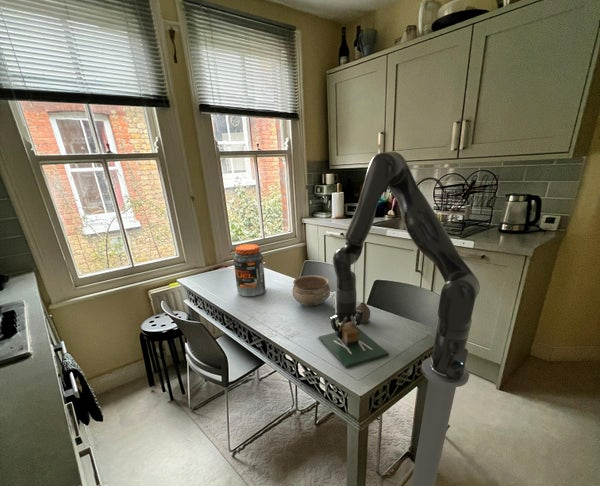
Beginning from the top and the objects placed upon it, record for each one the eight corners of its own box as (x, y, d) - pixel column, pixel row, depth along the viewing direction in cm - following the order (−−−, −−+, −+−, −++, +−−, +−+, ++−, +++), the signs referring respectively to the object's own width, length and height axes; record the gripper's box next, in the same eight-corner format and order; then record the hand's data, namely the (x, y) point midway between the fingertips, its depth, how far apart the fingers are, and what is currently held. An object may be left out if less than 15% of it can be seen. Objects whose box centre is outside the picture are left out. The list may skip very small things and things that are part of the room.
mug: (352, 316, 147) (353, 292, 142) (342, 320, 143) (343, 296, 138) (336, 309, 154) (336, 286, 149) (326, 313, 150) (326, 290, 145)
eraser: (358, 343, 123) (358, 331, 121) (347, 346, 122) (347, 334, 119) (345, 330, 132) (345, 318, 130) (334, 333, 131) (334, 321, 129)
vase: (353, 323, 140) (353, 305, 136) (355, 316, 146) (356, 299, 142) (368, 325, 138) (370, 307, 134) (370, 318, 144) (372, 301, 140)
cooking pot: (281, 301, 164) (280, 279, 159) (309, 292, 175) (308, 271, 170) (313, 318, 146) (313, 293, 141) (342, 306, 157) (342, 283, 152)
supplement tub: (232, 295, 173) (226, 249, 163) (245, 285, 187) (240, 242, 176) (258, 298, 169) (254, 251, 158) (270, 288, 182) (266, 243, 171)
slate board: (388, 355, 117) (388, 352, 117) (346, 367, 111) (346, 365, 111) (356, 329, 136) (356, 326, 135) (318, 338, 130) (318, 336, 129)
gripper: (333, 306, 114) (334, 345, 122) (367, 298, 119) (366, 336, 126) (324, 298, 121) (326, 336, 128) (357, 291, 125) (356, 328, 132)
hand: (346, 336), depth 127 cm, fingers closed on eraser, 5 cm apart
